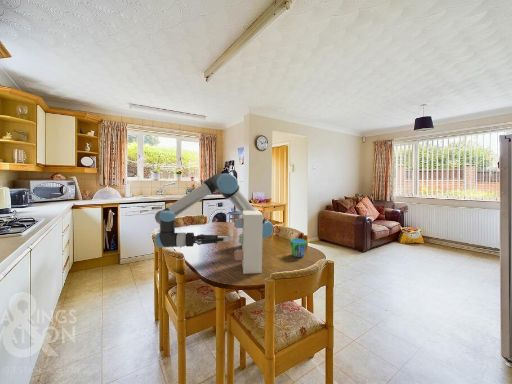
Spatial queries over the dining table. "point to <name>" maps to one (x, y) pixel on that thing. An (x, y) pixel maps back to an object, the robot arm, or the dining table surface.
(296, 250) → the snack cup
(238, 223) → the slate button
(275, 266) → the dining table surface
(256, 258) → the button pillar
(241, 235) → the sage button
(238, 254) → the terracotta button
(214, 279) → the dining table surface
